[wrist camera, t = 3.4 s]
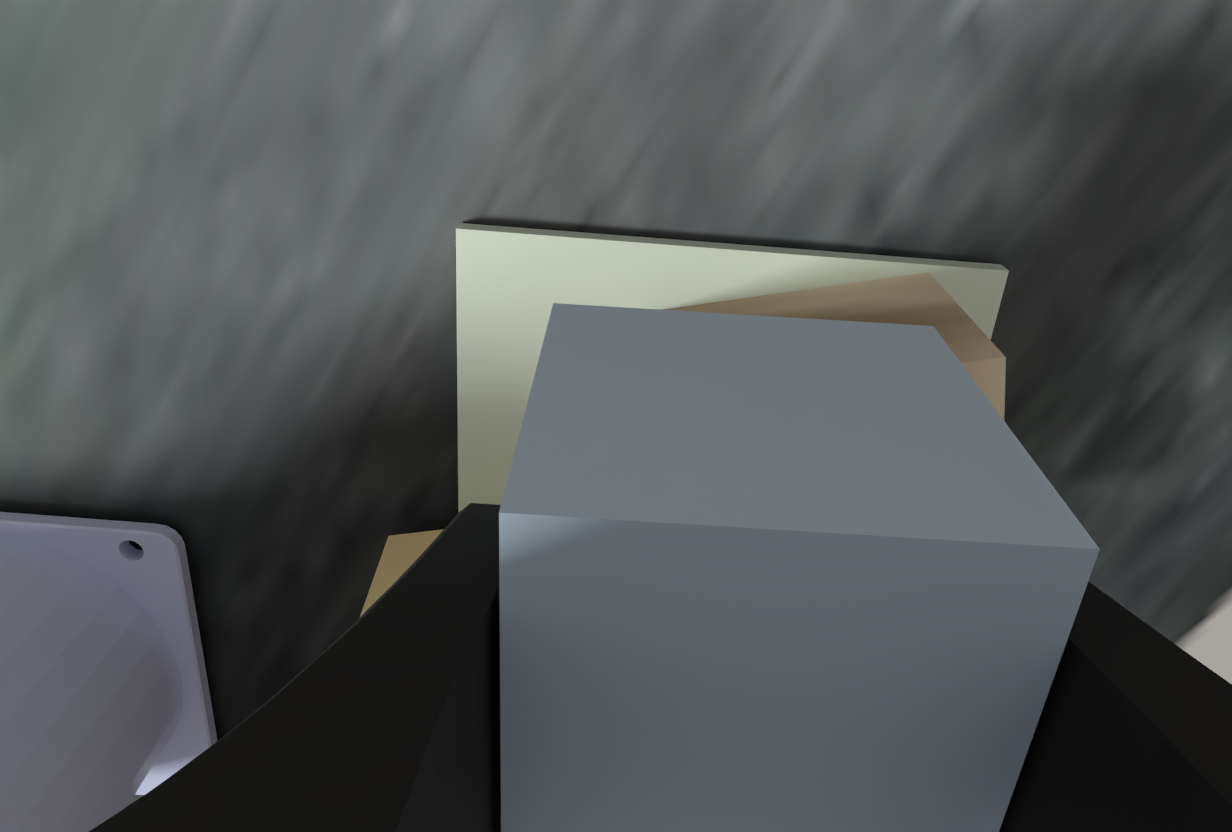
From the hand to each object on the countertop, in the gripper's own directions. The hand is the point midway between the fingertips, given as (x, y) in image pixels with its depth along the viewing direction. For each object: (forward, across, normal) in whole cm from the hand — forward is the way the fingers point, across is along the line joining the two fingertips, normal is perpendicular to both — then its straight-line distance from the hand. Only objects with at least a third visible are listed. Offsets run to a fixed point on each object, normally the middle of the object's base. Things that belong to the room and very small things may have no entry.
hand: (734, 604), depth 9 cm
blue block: (+2, 0, 0) cm, 2 cm away
